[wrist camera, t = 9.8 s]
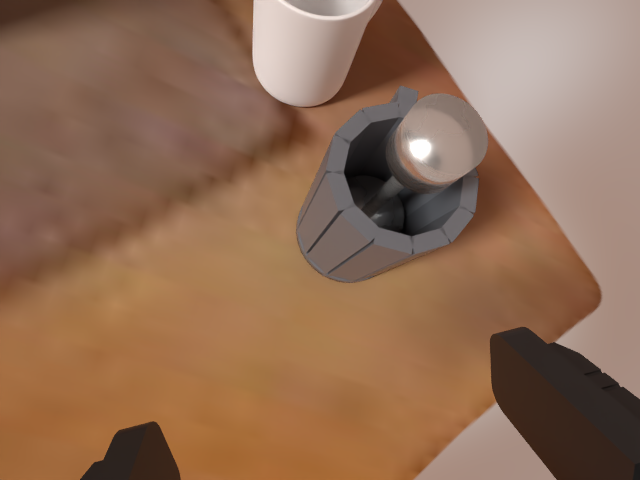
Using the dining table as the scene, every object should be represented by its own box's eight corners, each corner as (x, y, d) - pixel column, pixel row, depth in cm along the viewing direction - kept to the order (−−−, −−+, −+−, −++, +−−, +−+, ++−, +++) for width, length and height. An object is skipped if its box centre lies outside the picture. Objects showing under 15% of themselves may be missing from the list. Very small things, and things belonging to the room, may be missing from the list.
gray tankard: (285, 268, 30) (309, 229, 18) (315, 144, 33) (353, 43, 21) (386, 293, 31) (470, 271, 19) (407, 171, 34) (490, 89, 22)
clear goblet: (318, 242, 26) (374, 173, 15) (334, 170, 27) (396, 58, 16) (393, 261, 26) (501, 210, 15) (405, 191, 28) (512, 96, 17)
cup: (233, 51, 33) (228, -65, 23) (340, 1, 36) (374, -118, 27) (288, 126, 32) (305, 39, 23) (392, 68, 36) (446, -29, 26)
